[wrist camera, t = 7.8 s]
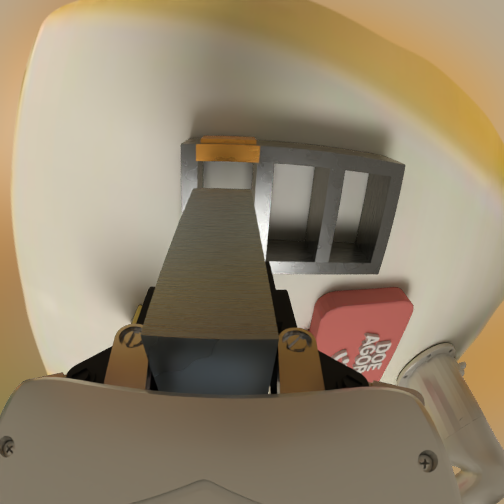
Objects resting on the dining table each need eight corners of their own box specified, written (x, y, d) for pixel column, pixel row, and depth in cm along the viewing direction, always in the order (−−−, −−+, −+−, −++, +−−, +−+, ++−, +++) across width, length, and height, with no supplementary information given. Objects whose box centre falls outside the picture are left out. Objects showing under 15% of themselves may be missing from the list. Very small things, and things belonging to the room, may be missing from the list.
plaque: (297, 313, 27) (420, 302, 28) (291, 290, 30) (406, 283, 31) (281, 405, 36) (376, 391, 37) (278, 384, 39) (368, 373, 40)
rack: (383, 152, 23) (406, 161, 19) (362, 253, 28) (378, 275, 25) (189, 134, 22) (180, 140, 18) (191, 249, 27) (184, 272, 23)
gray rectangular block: (251, 189, 14) (279, 339, 6) (244, 290, 18) (256, 444, 9) (193, 188, 14) (140, 334, 6) (196, 289, 17) (179, 441, 9)
